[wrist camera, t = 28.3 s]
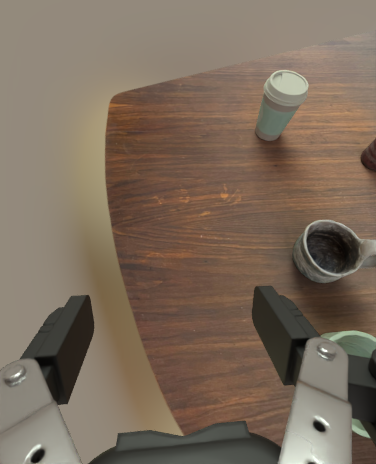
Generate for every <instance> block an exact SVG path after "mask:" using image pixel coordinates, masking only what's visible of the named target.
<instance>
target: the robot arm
mask: <svg viewBox="0 0 376 464" xmlns="http://www.w3.org/2000/svg"><path fill="white" fill-rule="evenodd" d="M252 319H253V323H254V326H255V328H256V330H257V332H258V334H259V336H260V338H261V340H262V342H263V344H264V346H265V348H266V350H267V352H268V354H269V356H270V358H271V360H272V362H273V364H274V366H275V369H276V371H277V373H278V375H279V377H280V379H281V381H282V383H283V385H294V386H295V387H296V388H295V392H294V396H293V401H292V405H291V409H290V414H289V418H288V422H287V427H286V431H285V435H284V440H283V444H282V448H281V447H280V446H278V445H277V444H276V443H274V442H272V441H271V440H269V439H267V438H265V437H263V436H260V435H257V434H254V433H250V432H249V431H248V427H247V424H246V421H236V422H226V423H217V424H213V425H211V426H208V427H206V428H203V429H201V430H199V431H196V432H194V433H191V434H189V435H186V436H178V435H173V434H168V433H162V432H157V431H152V430H147V431H137V432H128V433H118V438H117V443H116V446H115V447H113V448H110V449H109V450H107V451H105V452H103V453H102V454H100V455H99V456H97V457H96V458H94V459H93V460H92V461H91V462H90V463H89V464H352V418H353V419H357V420H359V421H360V422H361V424H362V425H363V427H364V428H365V430H366V431H367V433H368V435H369V436H370V438H371V439H372V441H373V442H374V444H375V445H376V349H375V350H373V352H372V355H371V358H367V357H361V356H356V355H350V354H347V353H346V351H345V350H344V349H343V348H342V347H341V346H340V345H338V344H337V343H335V342H333V341H331V340H329V339H326V338H322V337H321V336H320V335H319V334H318V333H317V331H316V330H315V329H314V328H313V326H312V325H311V324H310V323H309V321H308V320H307V319H306V318H305V317H304V316H303V314H302V313H301V312H300V310H298V308H297V307H296V305H295V304H294V303H293V302H292V301H291V300H289V299H288V298H286V297H285V296H283V295H278V293H277V292H276V291H275V290H274V288H273V287H272V286H256V287H255V289H254V298H253V308H252ZM93 333H94V319H93V313H92V306H91V300H90V297H89V295H81V296H71V297H70V299H69V300H68V302H67V303H66V305H65V307H62V308H58V309H56V310H55V311H54V312H53V313H51V314H50V315H49V316H48V318H47V319H46V321H45V322H44V324H43V326H42V327H41V328H40V330H39V331H38V333H37V334H36V336H35V337H34V339H33V340H32V342H31V343H30V345H29V346H28V348H27V349H26V351H25V352H24V354H23V355H22V357H21V358H20V360H17V361H14V362H12V363H10V364H8V365H6V366H5V367H3V368H2V369H1V370H0V464H82V462H81V459H80V457H79V455H78V452H77V450H76V448H75V445H74V443H73V440H72V438H71V436H70V433H69V431H68V428H67V426H66V424H65V421H64V419H63V417H62V414H61V412H60V409H59V407H58V405H61V404H68V401H69V399H70V396H71V393H72V391H73V388H74V385H75V383H76V380H77V377H78V375H79V372H80V369H81V366H82V364H83V361H84V358H85V356H86V353H87V350H88V347H89V345H90V342H91V339H92V337H93Z"/></svg>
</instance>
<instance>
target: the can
mask: <svg viewBox="0 0 376 464" xmlns="http://www.w3.org/2000/svg"><path fill="white" fill-rule="evenodd" d="M361 160H362V162H363V164H364V165H365V166H366V167H368V168H369V169H371V170H375V171H376V139H375V140H374V141H373V142H372V143H371V144H370V145H369V146H368V147H367V148H366V149H365V150H364V151H363V152H362V155H361Z"/></svg>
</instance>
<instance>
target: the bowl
mask: <svg viewBox="0 0 376 464" xmlns="http://www.w3.org/2000/svg"><path fill="white" fill-rule="evenodd" d="M321 337H322V338H326V339H329V340H331V341H333V342H335V343H337V344H338V345H340V346H341V347H342V348H343V349H344V350H345V351H346V353H347V354H350V355H356V356H361V357H367V358H371V355H372V352H373V350H375V349H376V338H375V337H373V336H371V335H370V334H367V333H363V332H359V331H355V330H354V331H341V332H331V333H325V334H323V335H321ZM352 432H354V433H356V434H358V435H361V436H364V437H368V438H370V436H369V435H368V433H367V431H366V430H365V428H364V427H363V425H362V424H361V422H360V421H359V420H357V419H353V418H352Z"/></svg>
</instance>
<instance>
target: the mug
mask: <svg viewBox="0 0 376 464" xmlns="http://www.w3.org/2000/svg"><path fill="white" fill-rule="evenodd" d="M371 255H374V256H371ZM292 257H293V261H294V263H295V265H296V267H297V268H298V270H299V271H300V272H301V273H302V274H303V275H304V276H306V277H307V278H309V279H310V280H312V281H315V282H319V283H328V282H333V281H336V280H338V279H340V278H342V277H343V276H347V275H349V274H352V273H354V272H355V271H356V270H357V269H359V268H376V240H364V239H359V238H358V237H357V236H356V234H355V233H354V232H353V231H352V230H351V229H350V228H348V227H347V226H345V225H343V224H341V223H338V222H334V221H332V220H317V221H315V222H313V223H311V224H310V225H308V226H307V227H306V229H305V231H304V233H303V234H302V235H301V236H300V237H299V238H298V239H297V241H296V243H295V245H294V248H293V254H292Z"/></svg>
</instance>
